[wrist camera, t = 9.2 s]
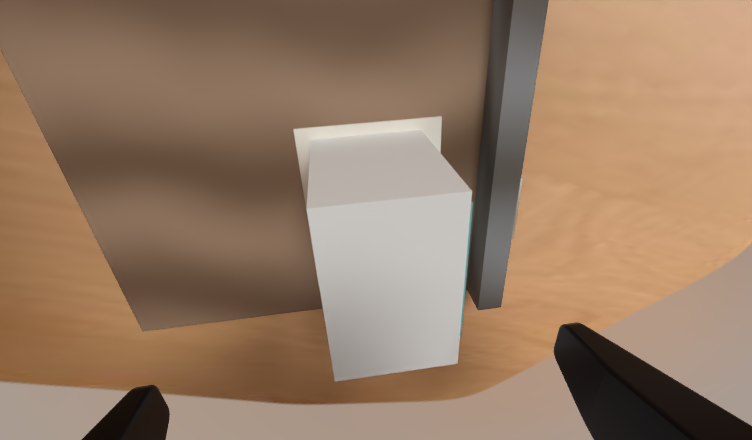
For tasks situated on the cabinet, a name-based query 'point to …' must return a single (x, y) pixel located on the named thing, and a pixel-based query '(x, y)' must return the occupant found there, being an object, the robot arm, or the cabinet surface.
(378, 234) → the carton
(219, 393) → the cabinet surface
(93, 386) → the cabinet surface
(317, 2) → the shelf board
